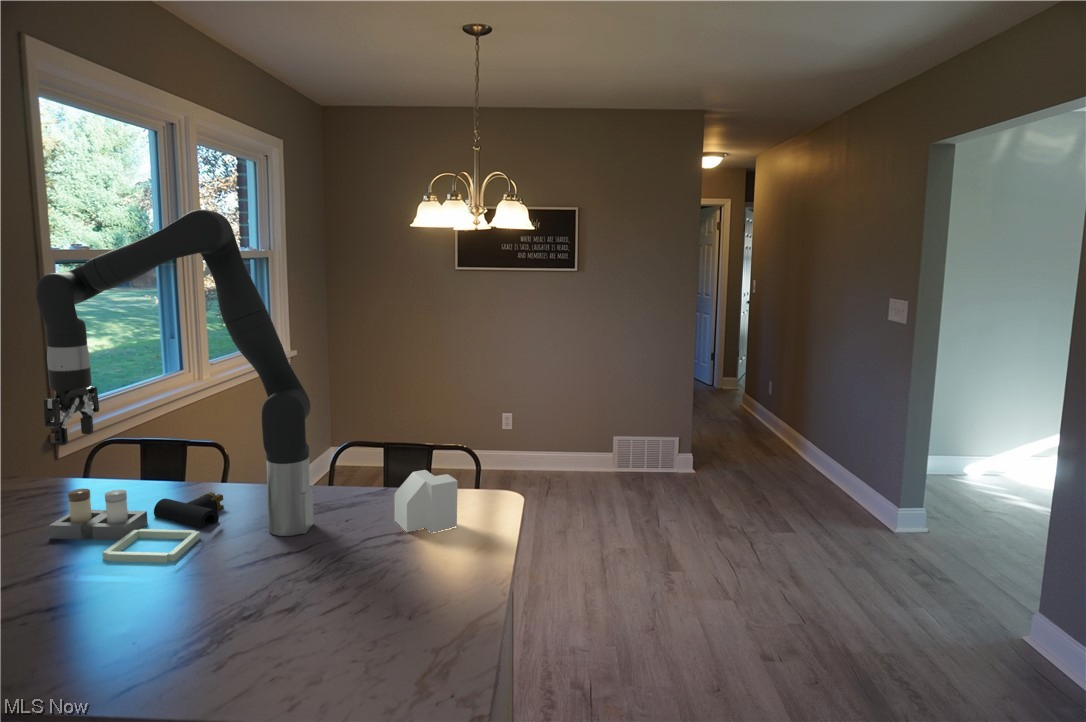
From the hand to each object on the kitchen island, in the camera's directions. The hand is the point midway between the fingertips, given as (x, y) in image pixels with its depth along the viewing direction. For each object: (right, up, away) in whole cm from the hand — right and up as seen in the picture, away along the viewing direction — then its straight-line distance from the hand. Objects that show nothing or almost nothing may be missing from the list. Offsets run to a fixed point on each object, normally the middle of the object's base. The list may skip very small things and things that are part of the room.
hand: (75, 439), depth 150 cm
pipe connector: (+20, -21, +14) cm, 32 cm away
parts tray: (+19, -24, -4) cm, 31 cm away
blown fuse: (-1, -21, +3) cm, 21 cm away
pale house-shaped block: (+74, -23, +15) cm, 79 cm away
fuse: (+7, -21, +4) cm, 23 cm away
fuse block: (+3, -22, +4) cm, 22 cm away
